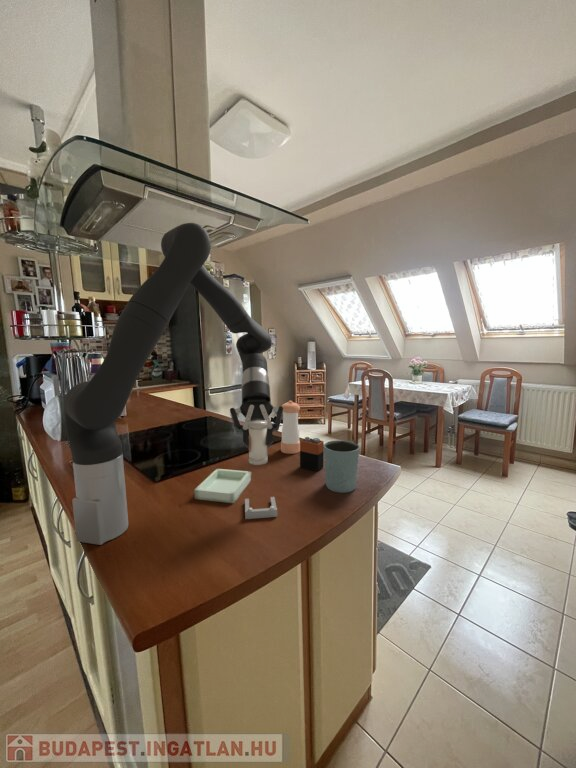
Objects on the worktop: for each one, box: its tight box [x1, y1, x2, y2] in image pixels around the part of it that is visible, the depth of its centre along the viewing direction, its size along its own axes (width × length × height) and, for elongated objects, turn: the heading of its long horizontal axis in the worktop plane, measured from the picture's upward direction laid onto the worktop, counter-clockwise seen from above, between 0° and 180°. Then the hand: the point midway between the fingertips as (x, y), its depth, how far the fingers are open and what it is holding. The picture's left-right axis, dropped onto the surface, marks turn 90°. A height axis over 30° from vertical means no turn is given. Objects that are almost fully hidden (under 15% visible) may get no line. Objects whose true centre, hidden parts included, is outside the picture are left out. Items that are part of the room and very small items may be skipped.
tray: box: [193, 468, 252, 504], centre depth 90 cm, size 14×11×3 cm
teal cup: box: [323, 440, 361, 494], centre depth 91 cm, size 10×10×12 cm
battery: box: [299, 436, 325, 472], centre depth 104 cm, size 4×7×10 cm, turn 57°
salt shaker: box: [280, 400, 301, 455], centre depth 119 cm, size 7×7×19 cm
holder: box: [244, 496, 278, 520], centre depth 79 cm, size 7×8×2 cm
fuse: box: [248, 419, 269, 466], centre depth 77 cm, size 5×5×10 cm
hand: (258, 445), depth 75 cm, fingers closed on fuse, 4 cm apart
